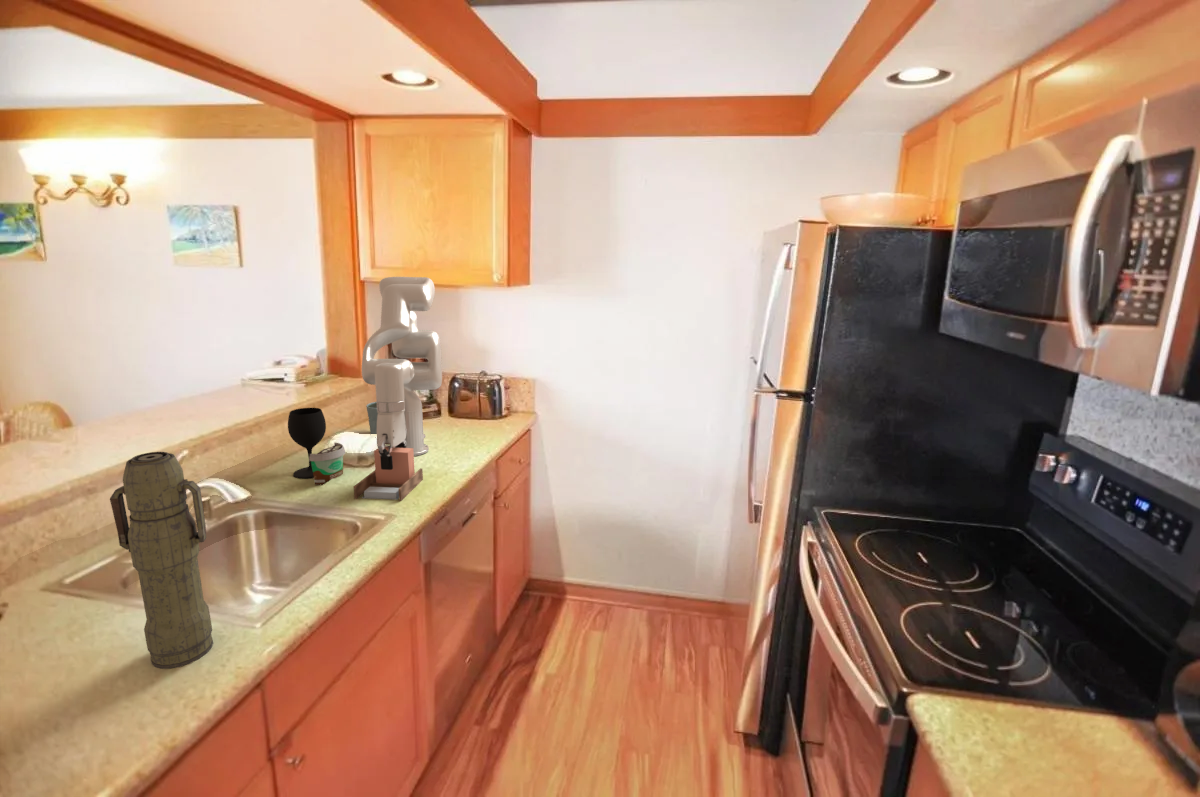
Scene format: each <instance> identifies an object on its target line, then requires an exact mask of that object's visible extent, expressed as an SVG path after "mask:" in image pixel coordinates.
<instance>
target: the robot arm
mask: <svg viewBox="0 0 1200 797" xmlns="http://www.w3.org/2000/svg"><path fill="white" fill-rule="evenodd" d="M378 289H379V292H380V295H381V309H380V310H381V312H380V313H381V315H380V327H379V328H378V329H377V330H376V331H375V332H374V333H372V335H371V336H370V337H369V338H368V339H367V342H365V345H364V347H363V350H362V358H361V359H362V360H361V376H362V380H363V382H365V383H366V384H368V385H374V386H375V396H376V397H375V399H376V401H375V402H377V413H378V416H377V438H376V447H377V449H379V453H380V458H381V469H382V470H392V469H393V460H392V456H391V452H392V448H394V447H395V448H413V452H414V457H417V456H421V455H424V454H426V453H427V452H429V450H430V449H429V447H430V446H429V445H428V444H425V440H424V439H425V438H426V434H425V433H424V422H423V421H424V418H423V416H424V415H423V403H422V399H421V398H420V397H419V395H418V394H417V393H416V392H415V391H425V390H426V391H432V390H438V389H439V388H441V386H442V383H443V366H442V364H443V362H442V345H441V344H442V342H441V337H440V335H439V333H438V332H436V331H435V330H427V329H426V330H425V329H424V330H423V329H422V330H421V329H419V327H418V315H417V313H416V312H428V311H429V310H430V309H431V307H432V305H433V301H434V299H435V294H436V289H435V284H434V281H433V280H432V279H431V278H429V277H427V276H426V277H425V276H424V277H422V276H414V277H413V276H388V277H384V278H382V279H380V281H379V288H378ZM390 344H391V349H392V353H393V356H395V357H396V358H375V355H376V353H377V352H378V351H379V350H381V349H382V348H384V347H385V346H387V345H390ZM409 359H426V360H427V361H426V362H425V361H424V362H423V361H422V362H421V361H417V362H416V361H410V360H409ZM386 449H388V451H387V450H386Z"/></svg>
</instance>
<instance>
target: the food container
mask: <svg viewBox="0 0 1200 797" xmlns="http://www.w3.org/2000/svg"><path fill="white" fill-rule="evenodd" d="M333 444H334V445H333V446H332V445H331V447H328V448H325V449H324V448H323V449H322V450H320V451H319V452H317V453H312V454H310V456H309V458H308V462H309V461H311V465H312V470H313V476H314V478H313V481H314V486H324V485H326V484H327V483H328V482H329V481H331V480H333V479H337V478H340V477H341V476H342V475H344V455H345V454H346V451H345V447H344V445H343V444H341V443H339V442H334V443H333ZM320 484H321V485H320ZM323 484H324V485H323Z"/></svg>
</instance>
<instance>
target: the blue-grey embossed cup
mask: <svg viewBox="0 0 1200 797" xmlns="http://www.w3.org/2000/svg"><path fill="white" fill-rule="evenodd" d="M366 411H367V418H368V425H369V433H370V435H371V434H377V416H378V413H377V402H376V401H374V402H369V403H367V404H366Z"/></svg>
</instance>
